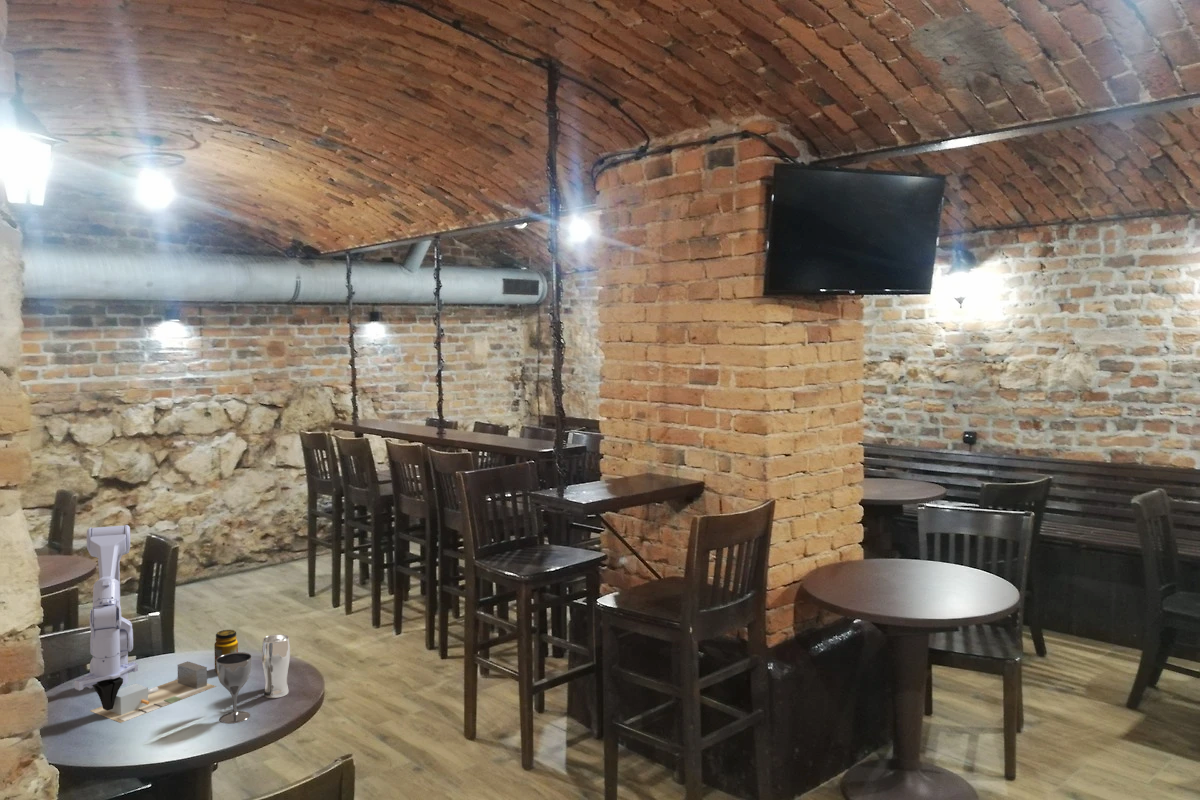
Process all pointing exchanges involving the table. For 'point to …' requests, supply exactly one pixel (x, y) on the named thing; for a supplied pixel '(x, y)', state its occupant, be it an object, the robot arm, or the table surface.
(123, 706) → the light grey block
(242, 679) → the wine glass
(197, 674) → the grey rectangular block
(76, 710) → the table surface
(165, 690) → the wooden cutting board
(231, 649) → the condiment
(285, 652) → the beer glass
